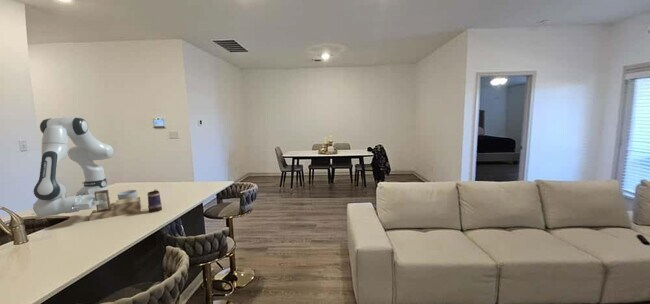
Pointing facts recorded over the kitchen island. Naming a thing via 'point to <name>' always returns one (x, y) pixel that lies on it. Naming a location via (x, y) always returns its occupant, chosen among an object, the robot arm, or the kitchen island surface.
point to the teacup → (127, 194)
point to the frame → (106, 201)
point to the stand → (119, 209)
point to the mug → (154, 201)
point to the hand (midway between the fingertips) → (104, 199)
